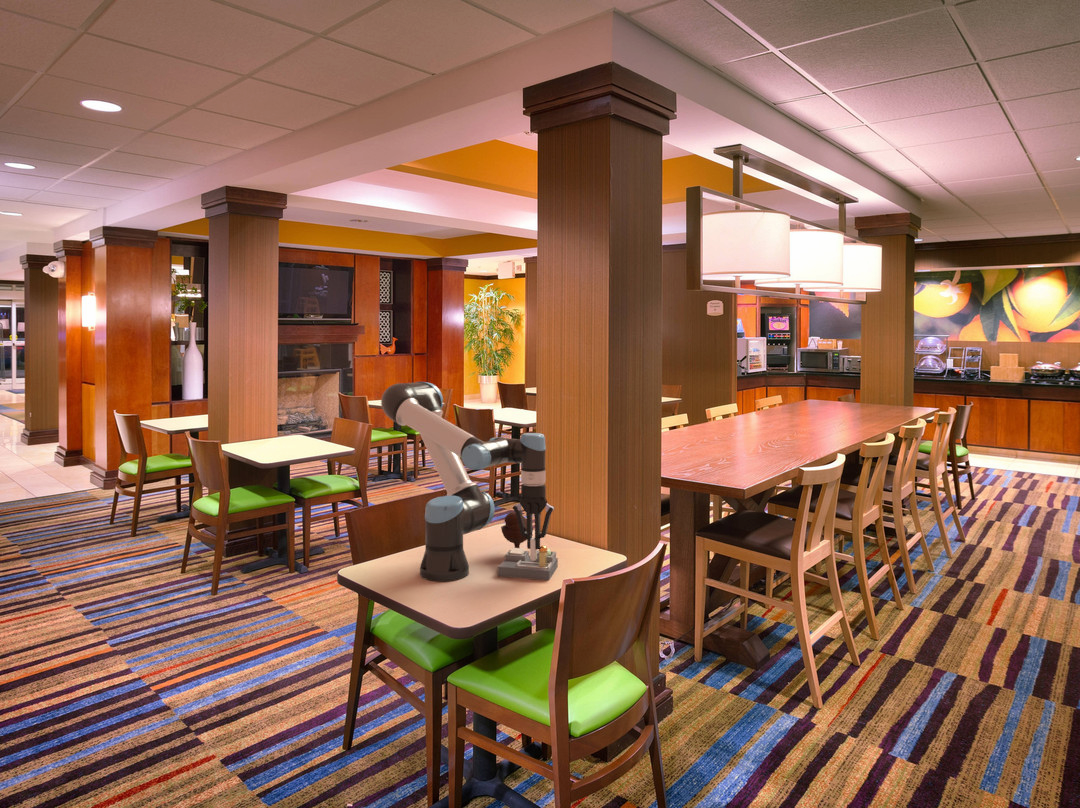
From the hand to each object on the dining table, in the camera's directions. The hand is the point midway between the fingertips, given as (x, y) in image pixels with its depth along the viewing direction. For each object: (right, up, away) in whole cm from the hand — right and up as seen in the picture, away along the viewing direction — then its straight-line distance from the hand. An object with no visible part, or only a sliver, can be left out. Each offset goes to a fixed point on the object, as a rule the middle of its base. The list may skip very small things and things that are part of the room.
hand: (533, 559), depth 213 cm
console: (-2, -5, +4) cm, 7 cm away
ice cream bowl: (-6, -4, +21) cm, 23 cm away
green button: (+3, -1, +6) cm, 7 cm away
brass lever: (+3, -2, 0) cm, 4 cm away
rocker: (-5, 0, +8) cm, 10 cm away
